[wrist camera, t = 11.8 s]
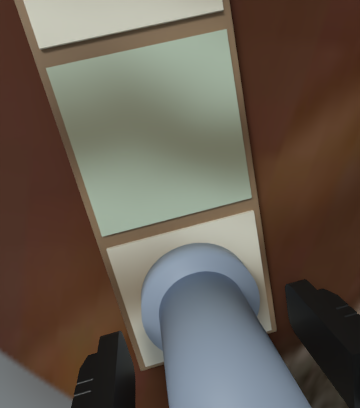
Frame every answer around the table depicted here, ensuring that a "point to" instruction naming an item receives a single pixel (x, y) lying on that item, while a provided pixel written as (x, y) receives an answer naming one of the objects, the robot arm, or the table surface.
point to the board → (152, 135)
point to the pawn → (213, 333)
